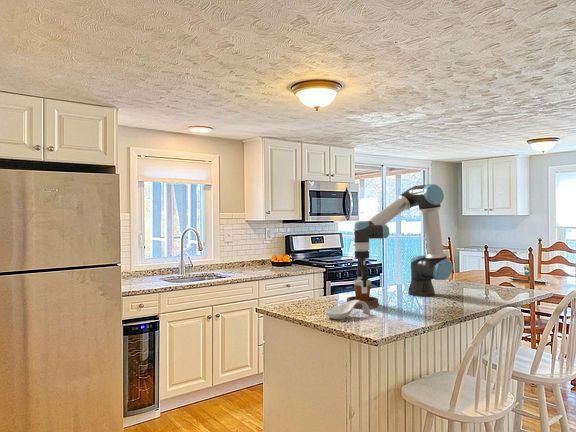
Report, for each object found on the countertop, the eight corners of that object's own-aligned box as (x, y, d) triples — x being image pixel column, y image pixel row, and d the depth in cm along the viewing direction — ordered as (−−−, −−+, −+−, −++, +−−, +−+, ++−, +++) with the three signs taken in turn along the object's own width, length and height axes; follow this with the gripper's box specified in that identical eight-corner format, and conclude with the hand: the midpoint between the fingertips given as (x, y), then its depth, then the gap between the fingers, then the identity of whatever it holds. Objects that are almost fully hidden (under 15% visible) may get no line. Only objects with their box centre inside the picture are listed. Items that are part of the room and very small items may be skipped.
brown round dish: (358, 301, 241) (358, 294, 241) (385, 305, 229) (385, 298, 229) (339, 305, 230) (339, 298, 230) (366, 310, 217) (366, 303, 217)
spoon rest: (336, 322, 193) (336, 306, 193) (320, 317, 203) (320, 302, 203) (375, 315, 206) (375, 300, 206) (358, 311, 216) (358, 297, 216)
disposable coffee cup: (371, 305, 224) (371, 282, 224) (352, 305, 226) (352, 281, 226) (371, 302, 233) (371, 279, 233) (353, 301, 235) (353, 279, 235)
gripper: (351, 248, 242) (351, 287, 242) (358, 252, 217) (358, 295, 217) (365, 248, 242) (365, 287, 242) (373, 252, 217) (374, 295, 217)
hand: (362, 291), depth 229 cm, fingers open, 13 cm apart
